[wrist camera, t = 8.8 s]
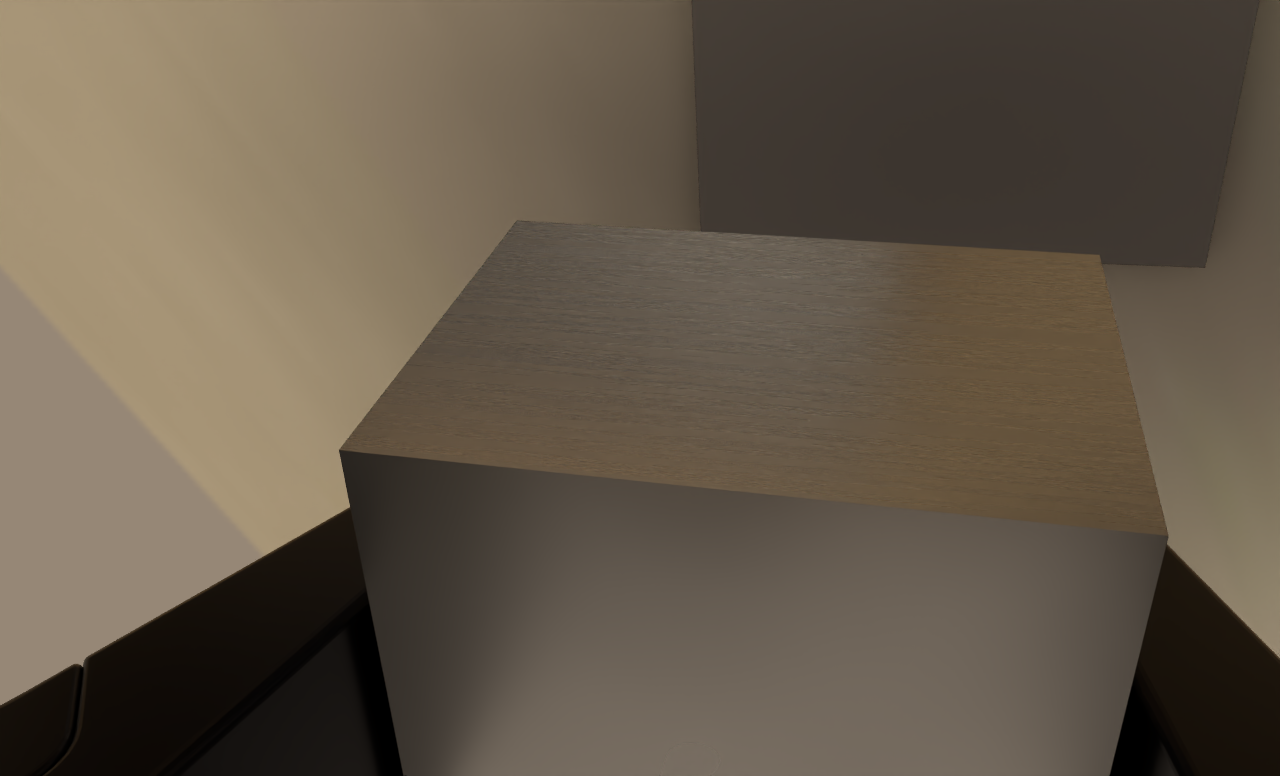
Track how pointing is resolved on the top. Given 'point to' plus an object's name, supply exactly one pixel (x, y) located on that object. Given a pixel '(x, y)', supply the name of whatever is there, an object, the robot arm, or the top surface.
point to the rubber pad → (971, 121)
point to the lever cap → (759, 512)
